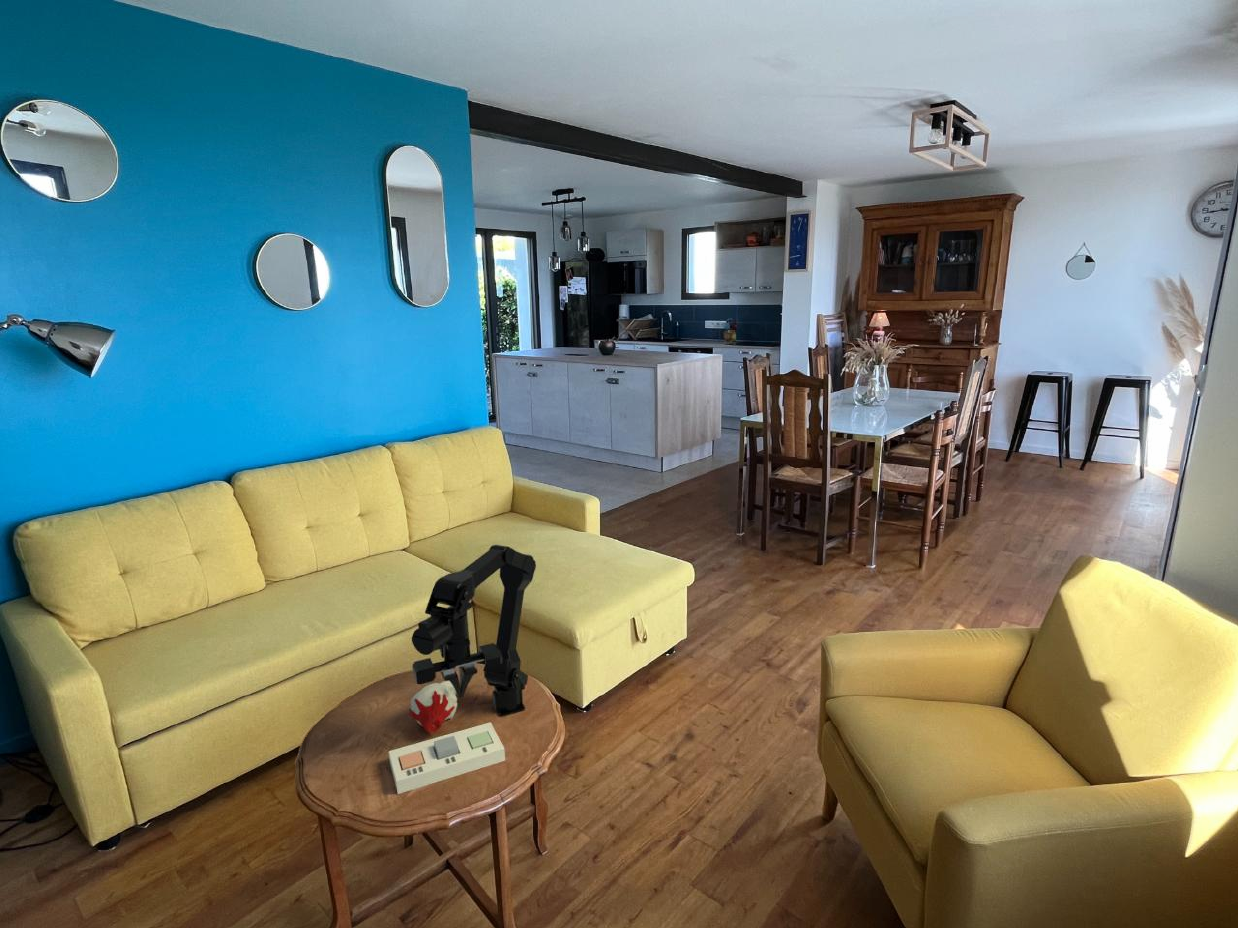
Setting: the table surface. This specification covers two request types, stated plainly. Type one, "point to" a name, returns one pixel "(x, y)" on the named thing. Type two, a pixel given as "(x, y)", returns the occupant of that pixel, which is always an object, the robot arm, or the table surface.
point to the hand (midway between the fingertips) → (460, 697)
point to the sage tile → (479, 740)
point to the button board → (445, 759)
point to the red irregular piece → (434, 705)
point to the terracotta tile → (411, 760)
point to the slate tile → (446, 747)
